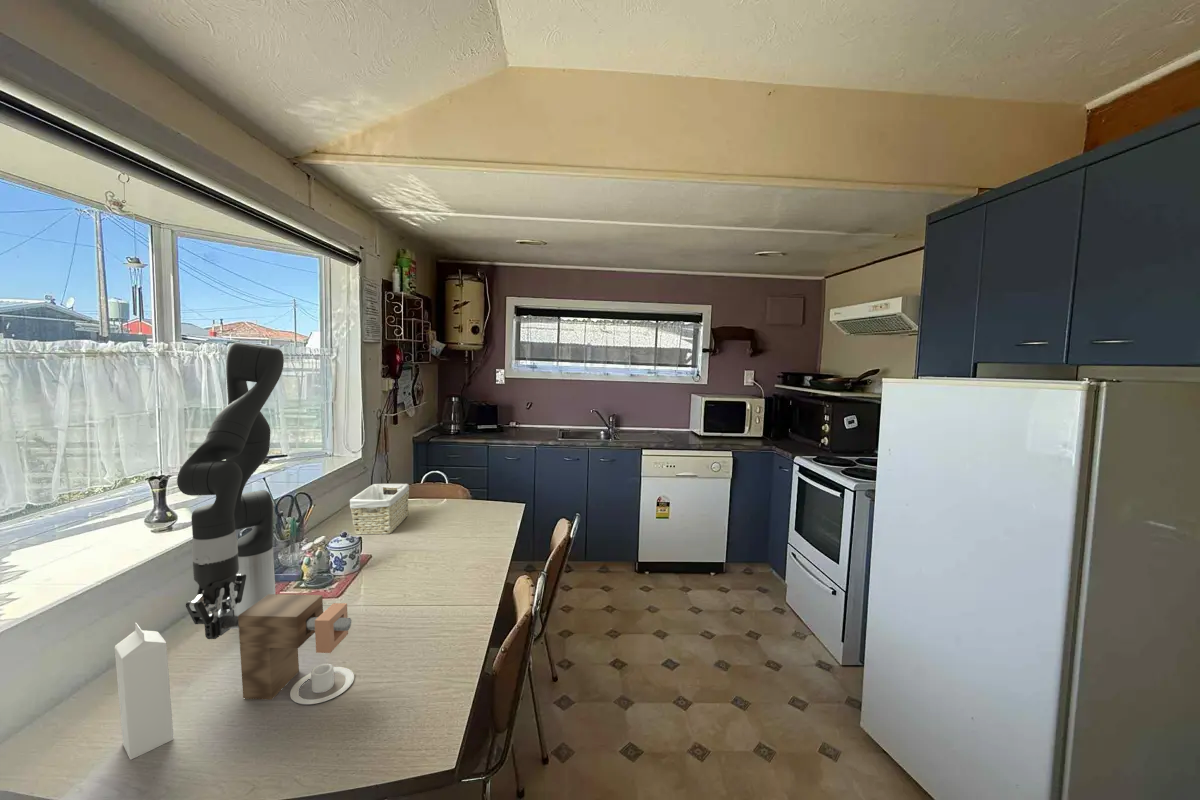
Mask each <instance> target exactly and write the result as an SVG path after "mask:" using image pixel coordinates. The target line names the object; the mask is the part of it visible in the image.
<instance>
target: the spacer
mask: <svg viewBox="0 0 1200 800" xmlns="http://www.w3.org/2000/svg"><path fill="white" fill-rule="evenodd" d="M339 618H349V617H348V603H346V602H345V603H342V602H341V603H340V602H337V603H335V602H333V603H332V604H331V605H329V607H328V608H327V609H325V610H323V613H322V614H321V615H320V616H319V617H318V618H317V619H316V620H315V633H314V636H315V653H316V654H331V653H332V652H333V651H334V650H335V649H336V648H337V646H339V644H341V642H342V641H343V640H344V639H345V638H346V637H348V634H349V630H348V631H334V623H335V622H336V621H337V620H338V619H339Z"/></svg>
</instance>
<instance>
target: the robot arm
mask: <svg viewBox="0 0 1200 800" xmlns="http://www.w3.org/2000/svg"><path fill="white" fill-rule="evenodd" d="M225 358H226V359H225V377H226V379H225V380H226V392H227V405H226V406H225V407H223V409H221V410H220V412H219V413H218V414H217V415H216V416H215V417H214V419H213V422H212V423H211V426H210V429H209V431H208V432H207V435H206V437H205V439H204V441H203V442H202V443H201V444H200V445H199V446H198V447H197V448H196V450H195V451H193V453H192V454H191V455H190V456H189V457H188V459H186V461H184V463H183V465H182V466H181V468H180V469H179V470H178V475H177V479H176V484H177V488H178V489H179V491H180V492H181V493H182V494H184V495H187V496H192V497H193V496H194V497H195V496H215V500H214V502H213V503H210V504H206V505H203V506H202V505H201V506H199V507H197V508H195V509H194V510H193V512H192V513H191V531H192V532H191V533H192V545H191V554H192V555H191V558H192V573H193V581H194V582H196V584H197V585H198V589H197V593H196V594H197V595H196V597H195V598H194V599H192V600H188V601H187V602H186V603H185V608H186V609H187V611H188V614H189V615H190V618H191V620H192V621H193V624H195V625H204V634H205V635H204V636H205V638H206V639H207V640H216V639H218V638H219V637H220V636H219V623H218V621H217V620H218V612H219V610H220V609H233V616H239V615H240V614H241V613H243V612H244V611H246V610H247V609H248V608H250V607H251V606H253V605H254V604H255V603H257V602H258V601H260V600H261V599H262V598H264V597H265V596H267V595H268V594H276V579H275V578H276V577H275V559H274V542H273V540H274V539H273V538H274V537H273V536H274V534H273V533H274V531H273V530H274V529H273V520H274V517H273V516H274V514H273V512H274V510H273V509H274V505H273V499H272V495H271V494H270V492H269V491H267V490H264V489H262V490H261V489H260V490H255V491H248V492H244V489H245V486H246V484H247V483H248V481H249V480H250V478H251V477H252V475H253V474H254V473H255V472H256V471H257V470H258V469H259V467H260V466H261V465H262V463H263V462H264V461H265V460H266V458H267V456H268V455H269V454H270V453H269V452H270V446H271V427H270V424H269V423H268V420H267V419H266V417H265V416H264V415H263V413H262V411H261V410H262V408H263V407H264V406H265V404H266V402H267V400H268V399H269V397H270V396H271V394H272V392H273V390H274V389H275V387H276V385H277V384H278V382H279V380H280V377H281V376H282V373H283V370H284V364H285V363H284V362H285V361H284V359H285V358H284V354H283V351H282V350H281V349H279V348H276V347H273V346H268V345H262V344H261V345H260V344H255V343H248V342H240V341H236V342H233V343H231V344H230V345H229V347H228V349H227V353H226V357H225ZM248 382H252V383H255V384H254V386H253V387H251V388H250V389H249V387H248ZM250 527H253V528H252V529H251V530H250V531H249V532H247V533H246V534H244V535H242V536H241V537H239V538H237V534H236V531H237V530H243V529H246V528H250ZM210 612H211V613H212V616H209V615H210Z"/></svg>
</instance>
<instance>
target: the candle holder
mask: <svg viewBox="0 0 1200 800" xmlns="http://www.w3.org/2000/svg"><path fill="white" fill-rule="evenodd" d="M334 674H340V675H342V676H343V677H344V678H345V681H344V683H343V686H342V687H341V688H339V689H338V690H337V691H335V692H333V693H331V694H330V695H327V696H324V697H320V698H316V699H315V698H314V699H308V698H307V699H306V698H304V697H303V698H302V696H301V695H300V690H299V687H300V686H301V685H302V684H303V683H304V682H305V681H307V680H308V679H310V681H311V682H310V683H311V691H312V692H313V693H315V694H321V692H322V693H325V692H328V691H329V690H330V689H332V688H333V687H334V685H335V675H334ZM354 680H355V675H354V672H353V670H352V669H349V668H347V667H343V666H334V665H333V664H332V663H322V664H319V665H317V666H315V667H314V668H313V669H312V670H311V671H310V673H308V674H306V675H304V676H303V677H301V678H299V680H297V681H296V683H294V684H293V686H292V687H291V689H290V691H289V695H290V699H291V701H293V702H295V703H296V704H299V705H314V704H320V703H325V702H327V701H331V700H332V699H334V698H336V697H338V696H339V695H341V694H342V693H344V692H345V691H347V690H348V689H349V688H350V687H351V686H352V685H353V682H354ZM308 681H309V680H308ZM308 681H307V682H308ZM304 684H305V683H304ZM304 684H303V685H304ZM303 685H302V686H303ZM298 690H299V691H298ZM299 695H300V696H299Z"/></svg>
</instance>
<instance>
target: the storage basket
mask: <svg viewBox="0 0 1200 800" xmlns="http://www.w3.org/2000/svg"><path fill="white" fill-rule="evenodd" d="M384 491H397V492H395V494H384ZM409 497H410V485H409V483H373V484H371V485H370V486H367V488H365V489H363V490H362V491H360V492H359V493H357V494H356V495H355V496H352V497H351V498H350V499H349V508H350V510H351V511H350V512H351V517H352V525H353V529H354V534H356V535H389V534H391V533H393V532H394V531H395V530H396V529H397V528H398V526H400V524H402V522H403V521H405V519H407V517H408V516H409Z"/></svg>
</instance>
